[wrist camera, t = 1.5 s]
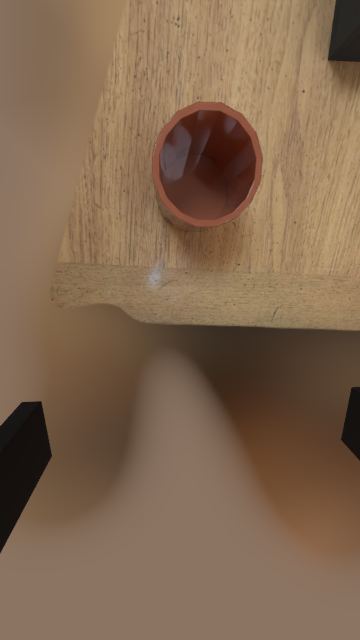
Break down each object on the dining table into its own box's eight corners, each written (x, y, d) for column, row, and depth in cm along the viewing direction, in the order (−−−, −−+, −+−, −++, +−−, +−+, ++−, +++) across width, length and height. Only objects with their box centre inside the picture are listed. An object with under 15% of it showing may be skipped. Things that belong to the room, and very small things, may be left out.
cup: (157, 232, 29) (153, 226, 19) (155, 151, 27) (150, 99, 17) (227, 232, 30) (257, 226, 20) (231, 152, 27) (267, 103, 18)
